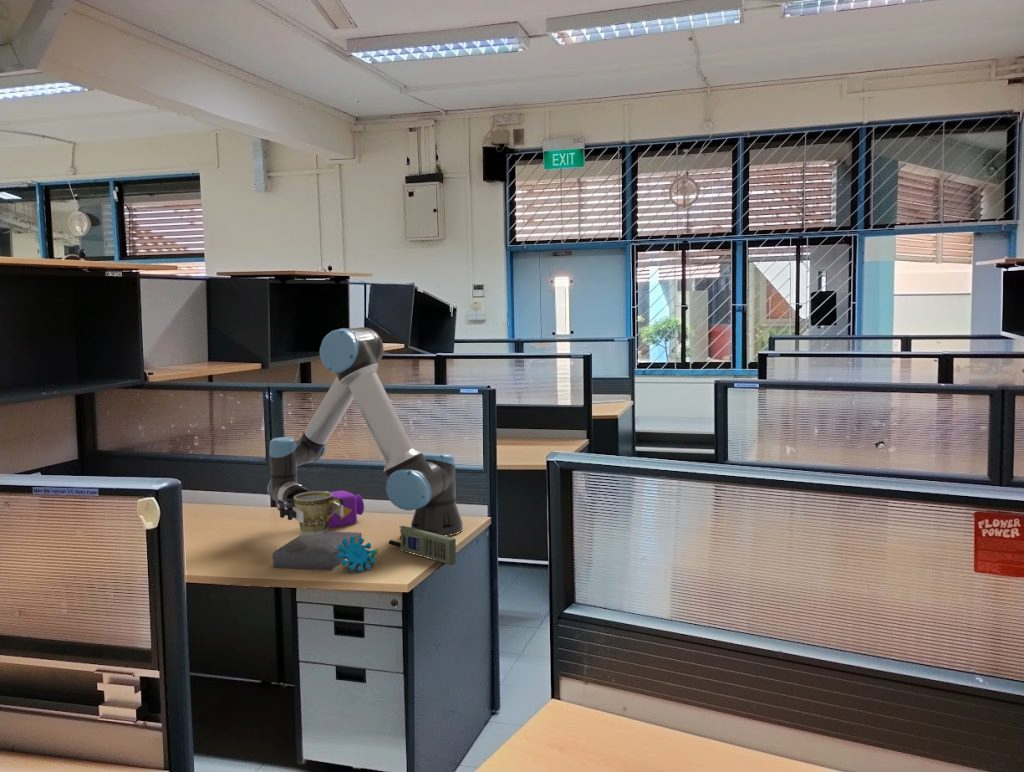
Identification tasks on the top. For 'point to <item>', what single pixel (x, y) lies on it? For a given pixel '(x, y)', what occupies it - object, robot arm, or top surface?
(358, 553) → the gear
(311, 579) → the top surface
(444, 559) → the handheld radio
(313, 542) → the stand
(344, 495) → the toy camera
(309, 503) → the ceramic cup
